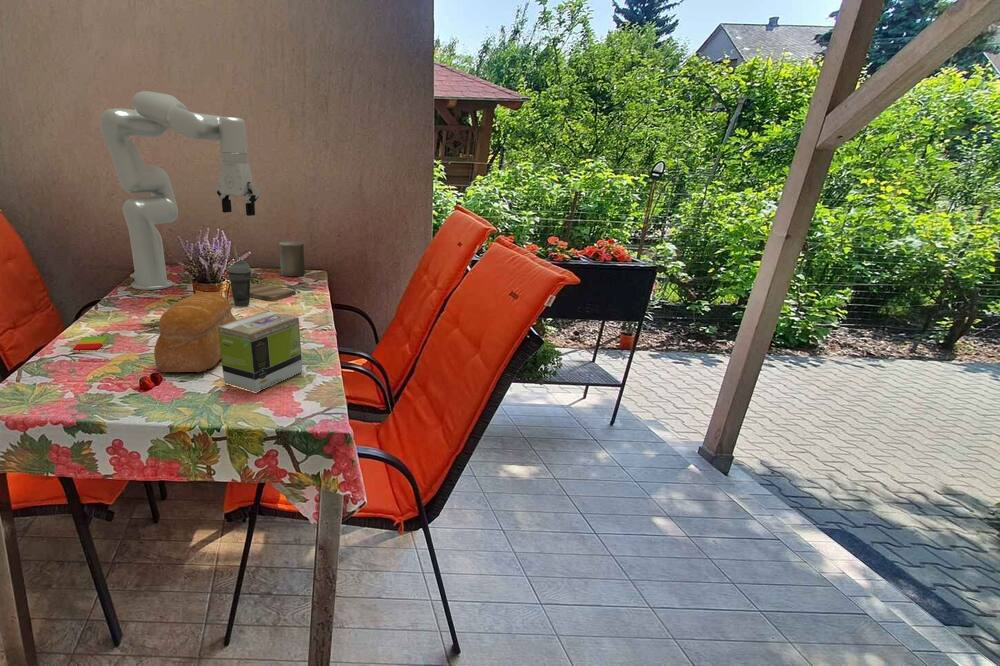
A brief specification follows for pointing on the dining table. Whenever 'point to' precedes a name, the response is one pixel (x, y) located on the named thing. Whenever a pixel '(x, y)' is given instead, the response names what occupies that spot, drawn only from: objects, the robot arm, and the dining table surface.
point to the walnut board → (269, 292)
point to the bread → (192, 333)
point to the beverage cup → (240, 281)
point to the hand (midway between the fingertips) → (238, 213)
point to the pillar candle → (292, 258)
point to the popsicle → (91, 343)
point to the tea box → (260, 350)
